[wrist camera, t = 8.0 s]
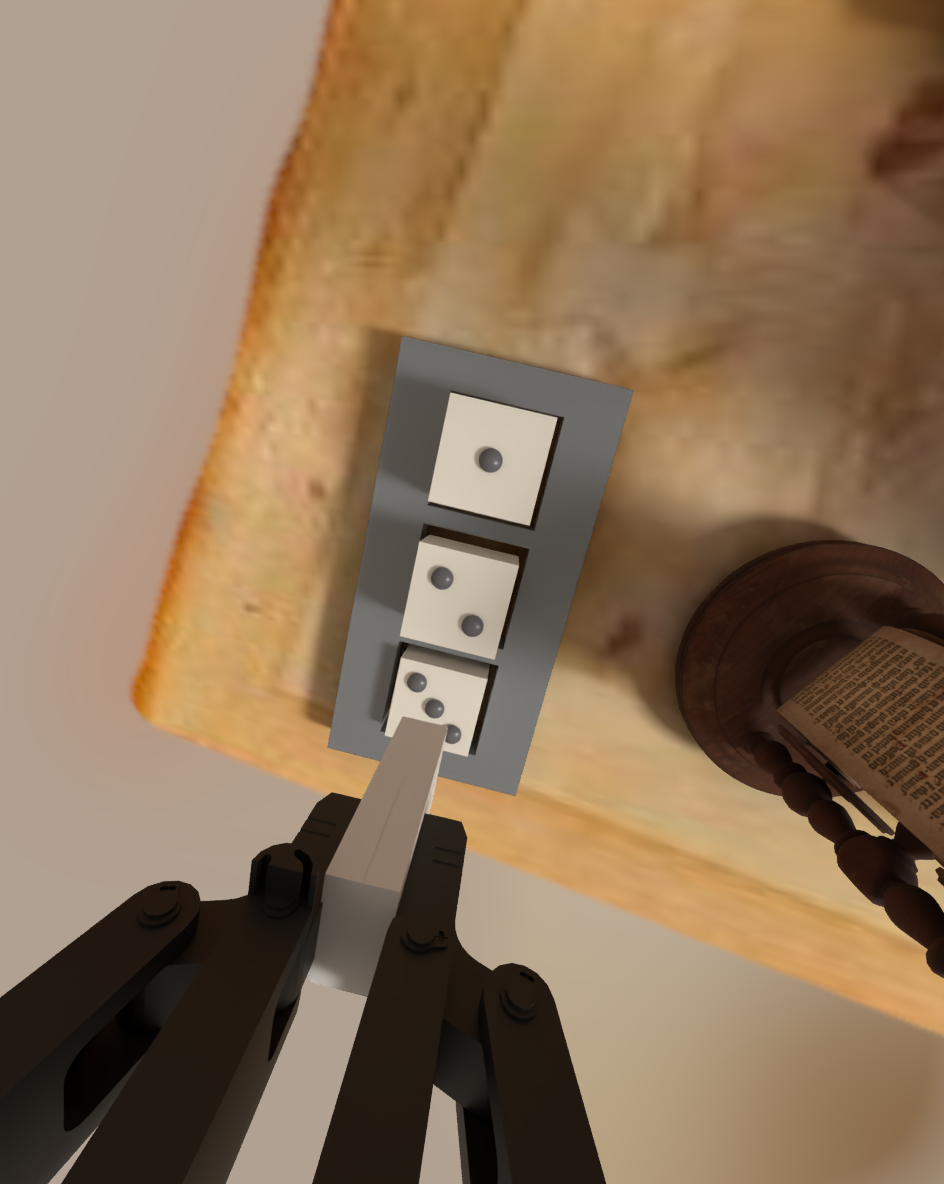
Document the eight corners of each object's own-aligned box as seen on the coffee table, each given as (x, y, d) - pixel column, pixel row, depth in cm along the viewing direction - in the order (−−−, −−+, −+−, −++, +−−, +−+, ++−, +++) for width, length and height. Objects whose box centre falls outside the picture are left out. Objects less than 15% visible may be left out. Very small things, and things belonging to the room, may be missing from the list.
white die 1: (457, 402, 26) (449, 391, 23) (552, 424, 26) (557, 417, 22) (437, 498, 27) (427, 501, 24) (527, 520, 27) (529, 525, 24)
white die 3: (411, 640, 31) (400, 658, 28) (490, 660, 31) (487, 680, 28) (396, 712, 32) (383, 737, 29) (471, 731, 32) (467, 758, 29)
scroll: (815, 480, 27) (1568, 490, 8) (988, 659, 29) (1998, 1049, 9) (615, 663, 30) (793, 993, 11) (779, 816, 32) (1196, 1349, 12)
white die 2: (429, 534, 27) (418, 542, 24) (518, 556, 27) (519, 566, 24) (411, 619, 29) (399, 637, 25) (496, 640, 28) (494, 661, 25)
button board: (410, 345, 27) (402, 335, 25) (625, 396, 27) (633, 389, 25) (338, 731, 33) (327, 747, 31) (515, 777, 33) (515, 795, 31)
